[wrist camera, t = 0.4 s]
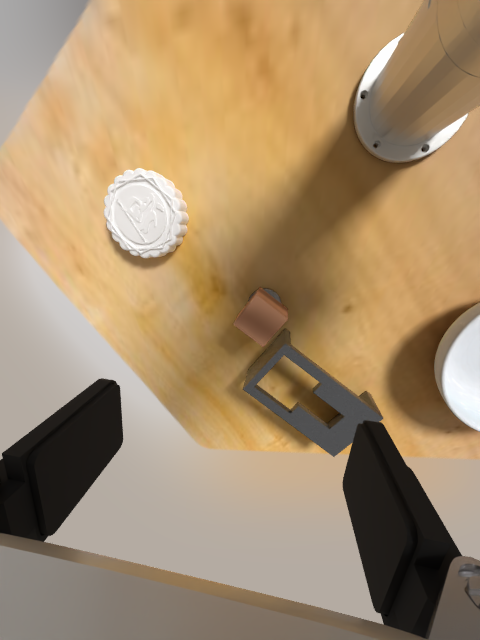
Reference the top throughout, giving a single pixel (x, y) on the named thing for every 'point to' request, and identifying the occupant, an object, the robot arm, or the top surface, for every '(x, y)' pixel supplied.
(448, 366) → the serving bowl
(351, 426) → the keyhole bracket
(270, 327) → the keyhole peg
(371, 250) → the top surface
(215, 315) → the top surface
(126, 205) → the mooncake
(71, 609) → the robot arm
